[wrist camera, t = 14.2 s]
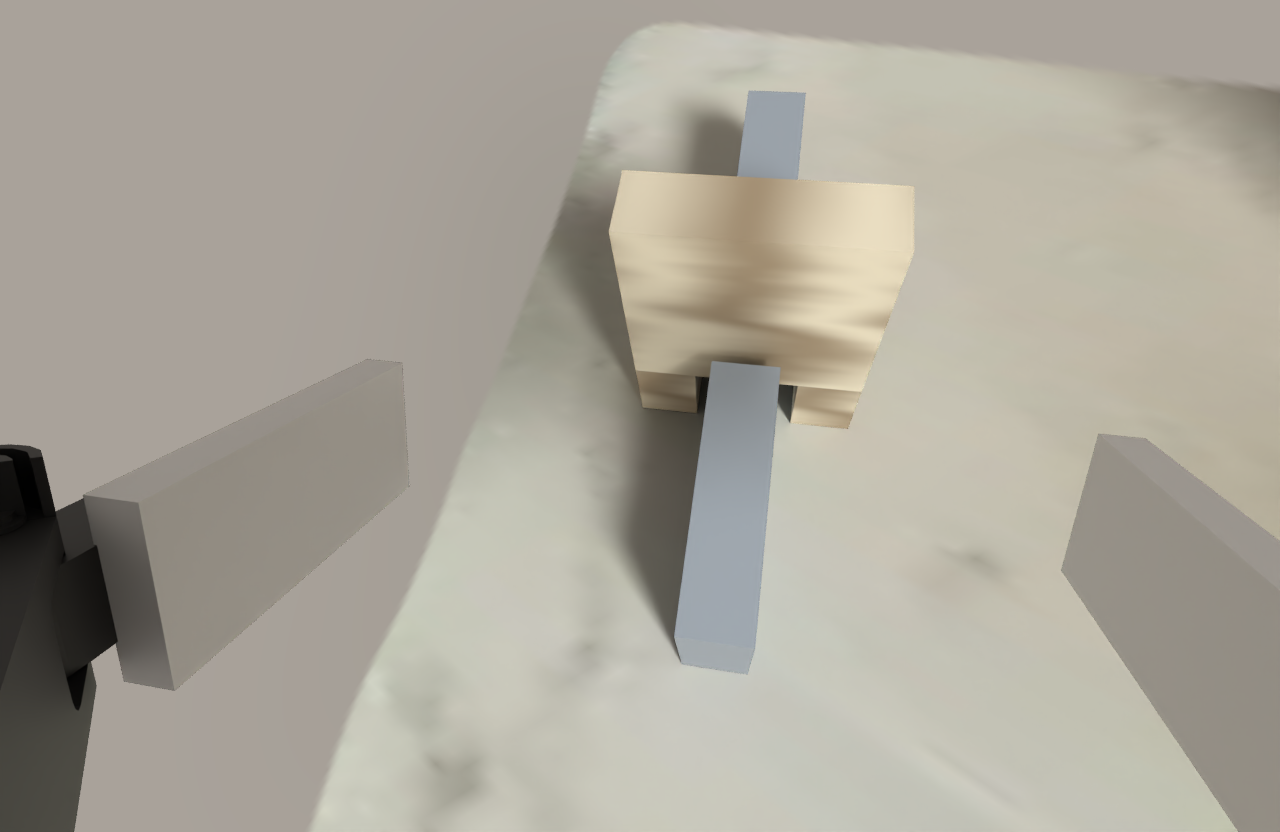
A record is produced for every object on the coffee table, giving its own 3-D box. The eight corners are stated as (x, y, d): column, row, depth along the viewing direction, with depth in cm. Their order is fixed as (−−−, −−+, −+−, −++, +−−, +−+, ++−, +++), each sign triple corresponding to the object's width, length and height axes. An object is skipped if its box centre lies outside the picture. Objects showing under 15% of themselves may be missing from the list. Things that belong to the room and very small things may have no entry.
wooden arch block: (849, 378, 33) (914, 186, 22) (847, 428, 32) (914, 252, 21) (651, 359, 35) (622, 170, 24) (642, 407, 33) (608, 231, 23)
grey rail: (792, 189, 38) (805, 92, 33) (747, 674, 28) (755, 648, 23) (743, 186, 39) (748, 90, 33) (681, 664, 28) (674, 636, 23)
